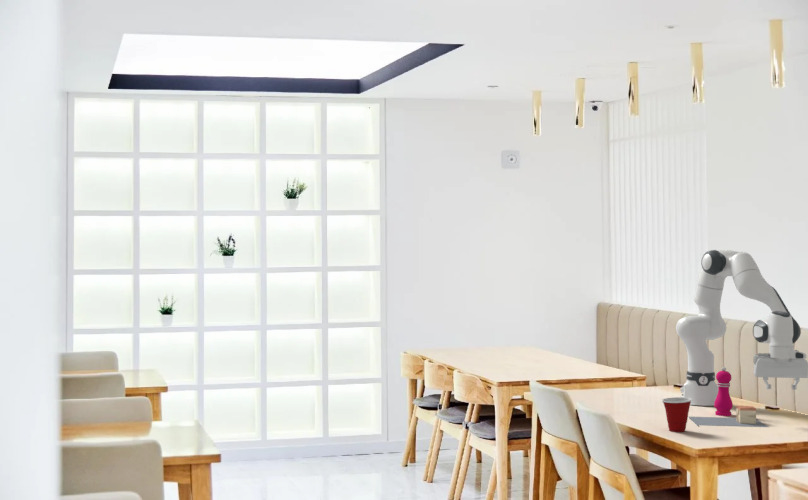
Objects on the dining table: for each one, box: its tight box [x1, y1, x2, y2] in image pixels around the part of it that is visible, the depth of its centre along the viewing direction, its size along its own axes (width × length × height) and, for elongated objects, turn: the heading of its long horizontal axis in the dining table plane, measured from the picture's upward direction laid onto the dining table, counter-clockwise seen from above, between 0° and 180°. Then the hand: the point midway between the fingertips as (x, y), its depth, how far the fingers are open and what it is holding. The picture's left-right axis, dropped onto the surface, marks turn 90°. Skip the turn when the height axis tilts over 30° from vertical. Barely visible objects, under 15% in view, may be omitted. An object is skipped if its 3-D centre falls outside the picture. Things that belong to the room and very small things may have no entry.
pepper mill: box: [713, 366, 734, 417], centre depth 391 cm, size 7×7×20 cm
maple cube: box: [735, 404, 757, 424], centre depth 374 cm, size 6×6×6 cm
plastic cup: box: [661, 396, 692, 433], centre depth 356 cm, size 11×11×12 cm
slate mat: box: [688, 416, 769, 428], centre depth 375 cm, size 20×26×1 cm
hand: (781, 389), depth 372 cm, fingers open, 8 cm apart
